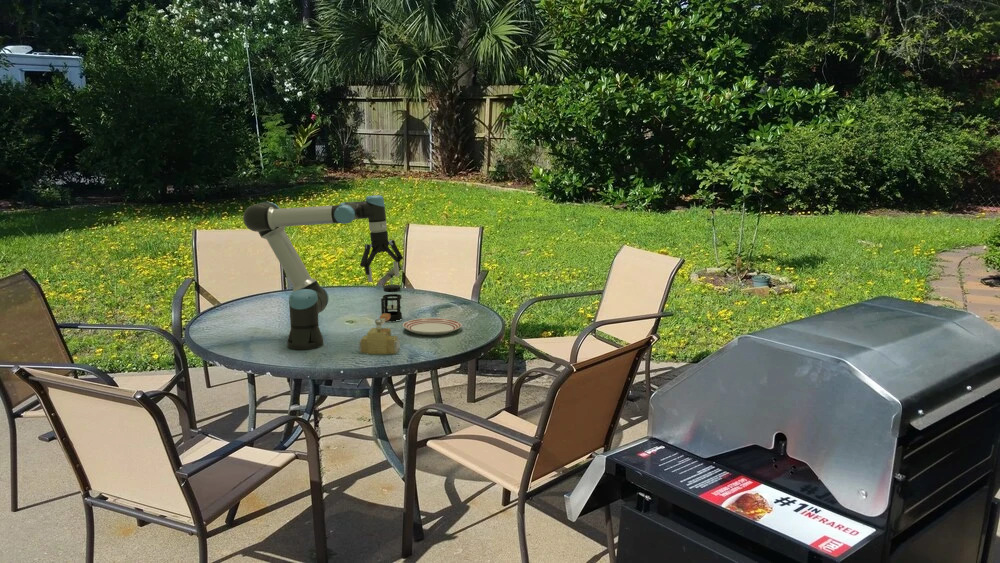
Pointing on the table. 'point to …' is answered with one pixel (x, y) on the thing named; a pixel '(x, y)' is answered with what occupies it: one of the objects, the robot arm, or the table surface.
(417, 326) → the dinner plate
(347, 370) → the table surface
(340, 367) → the table surface
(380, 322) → the valve lever
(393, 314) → the french press
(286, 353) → the table surface
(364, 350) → the valve pipe
